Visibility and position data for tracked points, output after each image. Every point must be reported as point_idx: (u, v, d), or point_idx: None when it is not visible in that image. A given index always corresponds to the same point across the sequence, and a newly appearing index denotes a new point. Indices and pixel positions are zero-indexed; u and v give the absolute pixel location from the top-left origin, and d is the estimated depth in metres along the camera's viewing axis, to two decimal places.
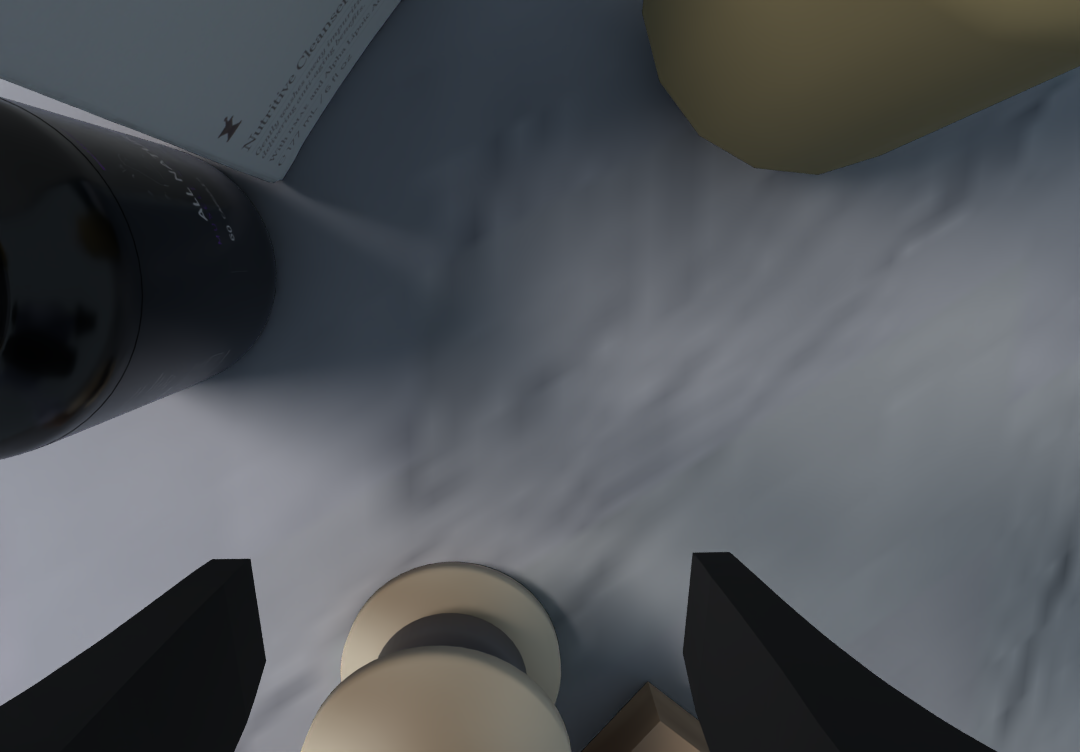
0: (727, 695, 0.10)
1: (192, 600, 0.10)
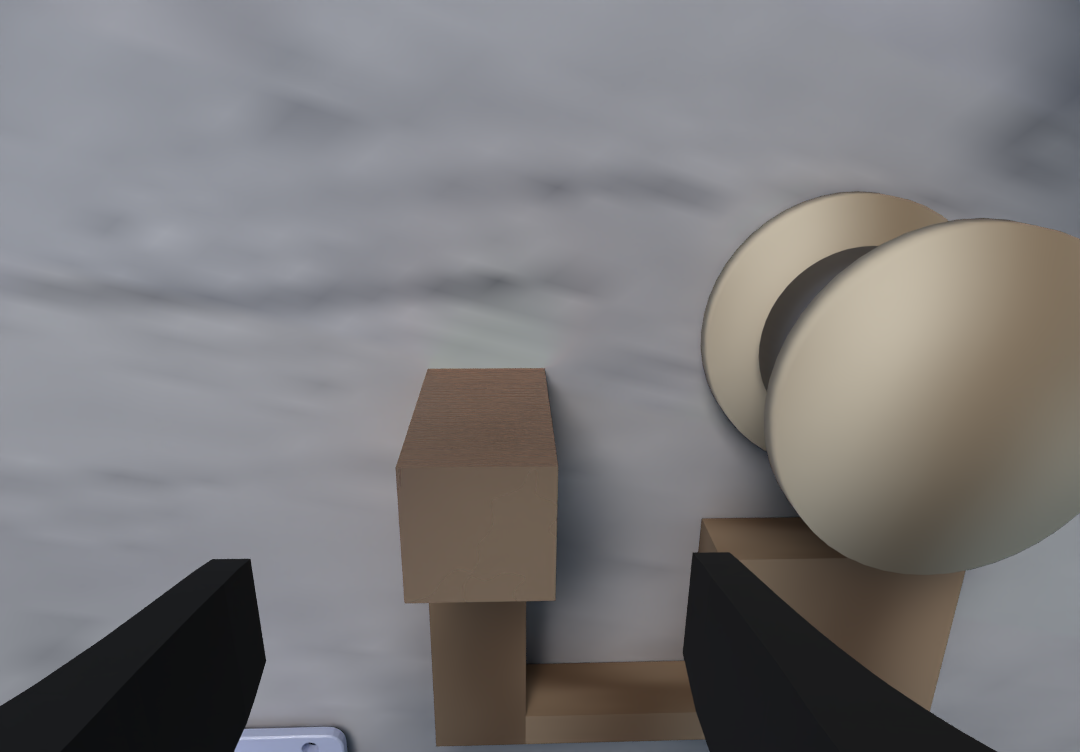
0: (727, 695, 0.10)
1: (192, 600, 0.10)
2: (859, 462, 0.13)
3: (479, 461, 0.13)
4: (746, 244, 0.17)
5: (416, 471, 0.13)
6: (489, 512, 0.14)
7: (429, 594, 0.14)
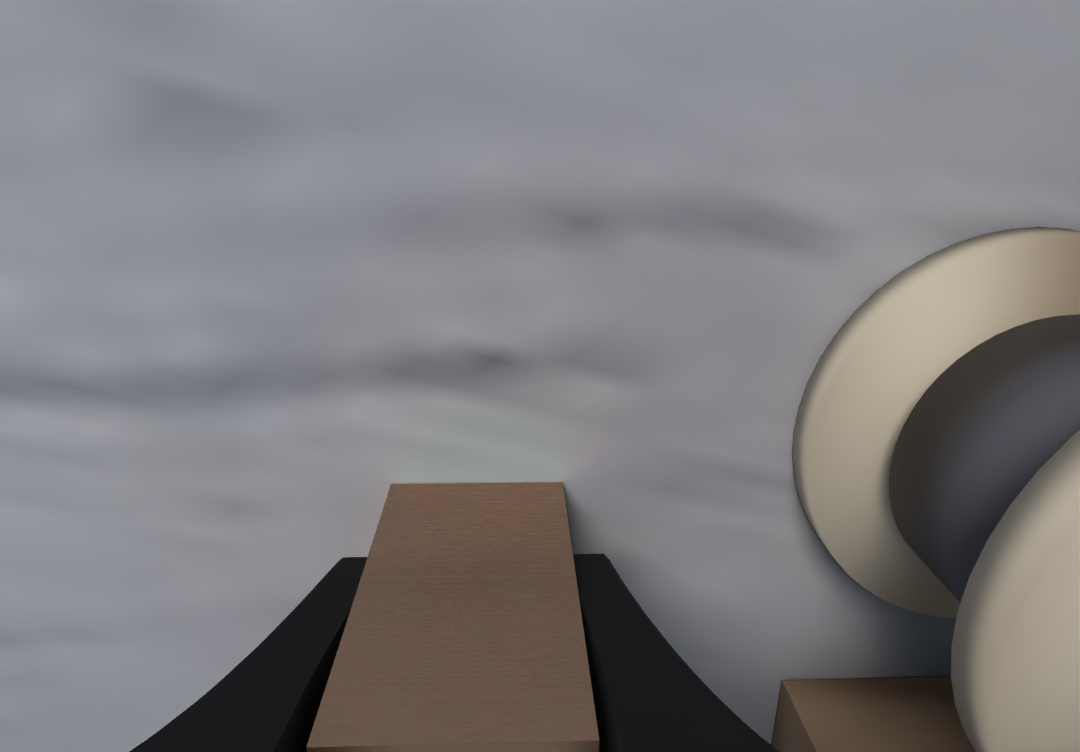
0: None
1: (343, 598, 0.10)
2: None
3: (458, 725, 0.08)
4: (869, 307, 0.11)
5: None
6: None
7: None
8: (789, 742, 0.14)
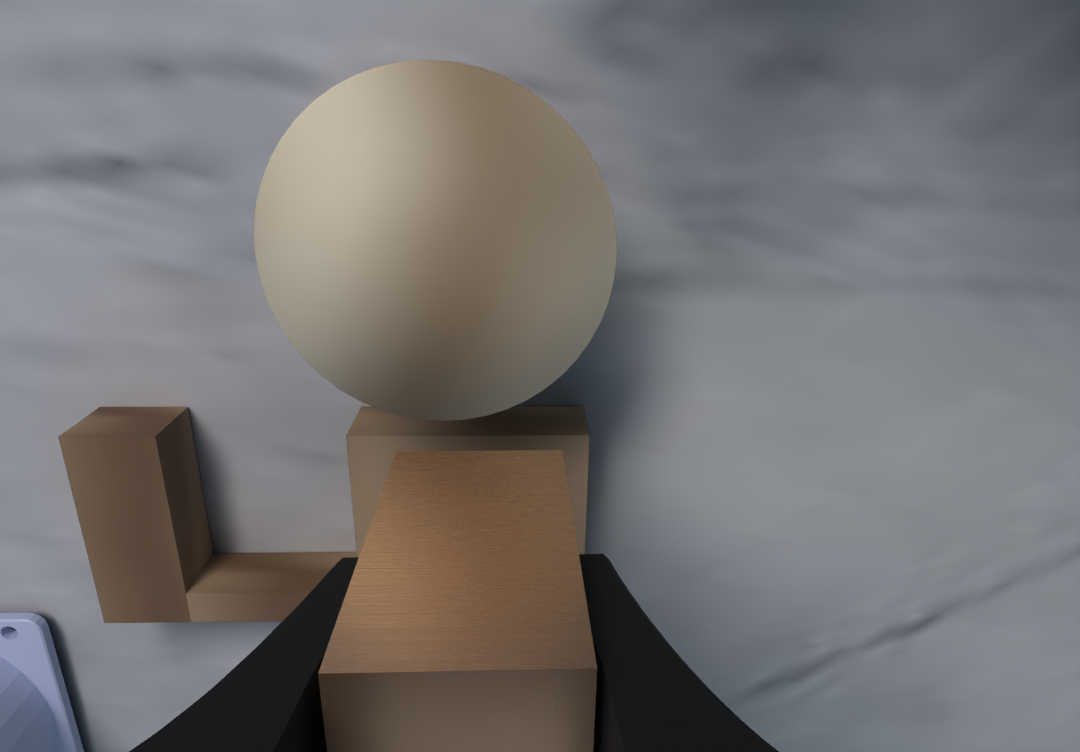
0: None
1: (343, 597, 0.10)
2: (347, 303, 0.14)
3: (462, 656, 0.08)
4: None
5: (355, 678, 0.08)
6: (480, 740, 0.08)
7: None
8: None
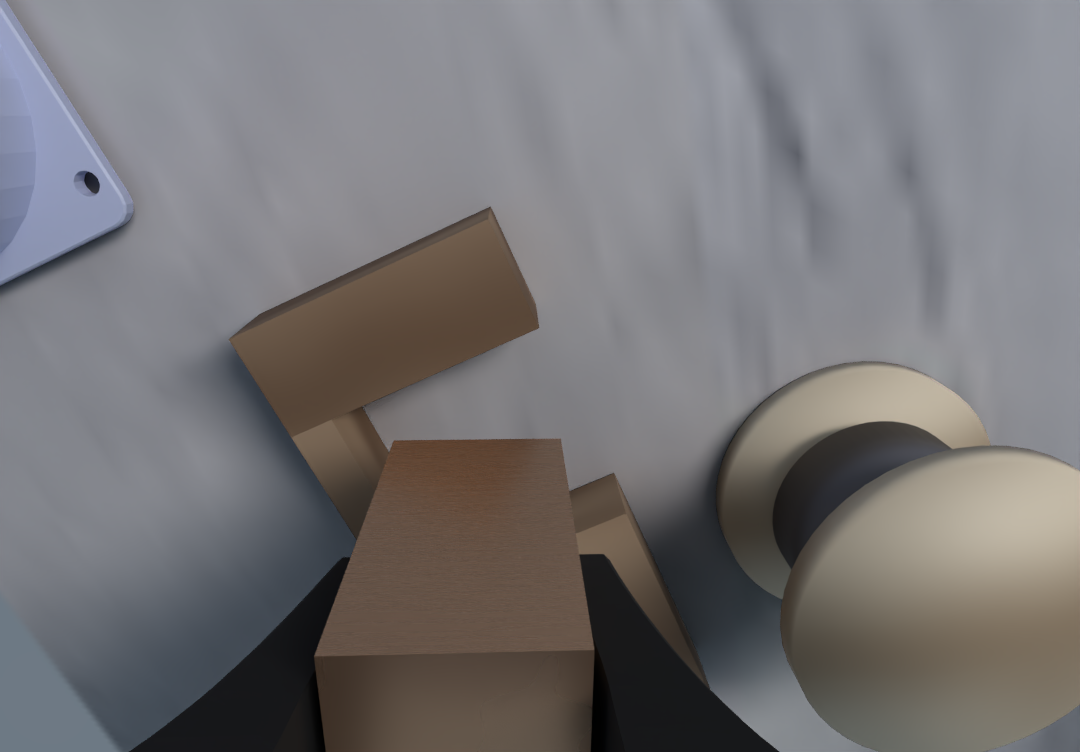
0: None
1: None
2: (901, 570, 0.13)
3: (460, 638, 0.08)
4: (908, 369, 0.18)
5: (351, 661, 0.08)
6: (477, 722, 0.08)
7: None
8: (586, 499, 0.18)
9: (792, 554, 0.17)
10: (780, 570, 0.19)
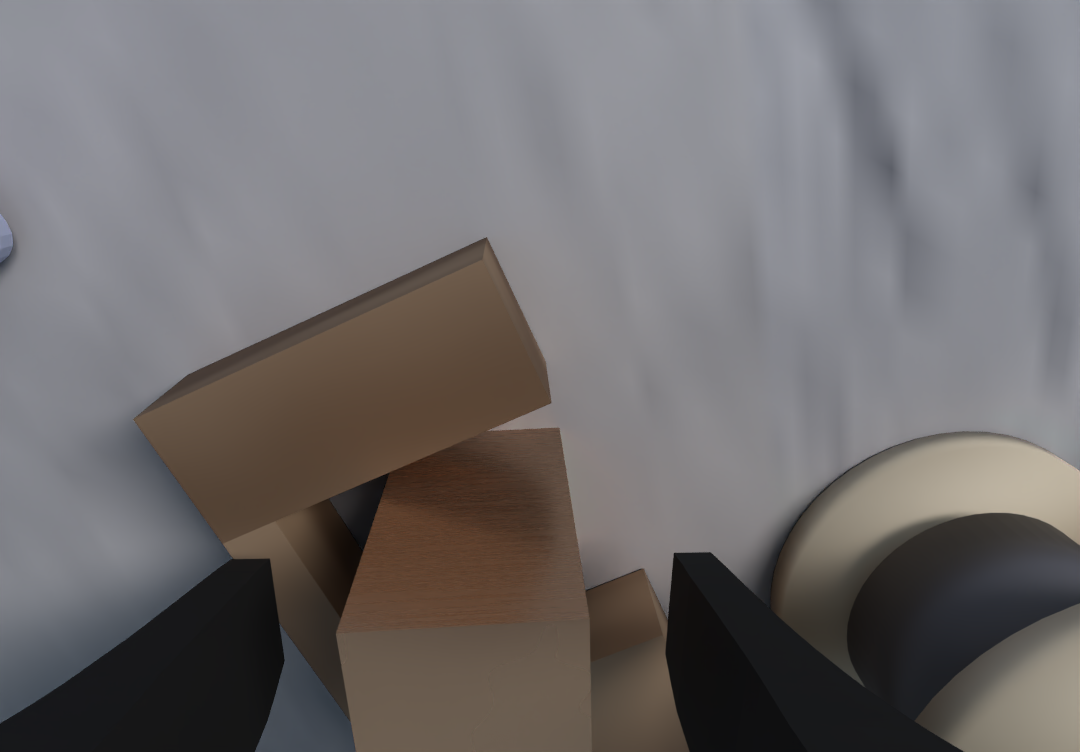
0: (705, 695, 0.10)
1: (215, 600, 0.10)
2: None
3: (467, 613, 0.09)
4: (1022, 442, 0.14)
5: (369, 637, 0.08)
6: (487, 690, 0.09)
7: None
8: (608, 605, 0.14)
9: (879, 689, 0.13)
10: None
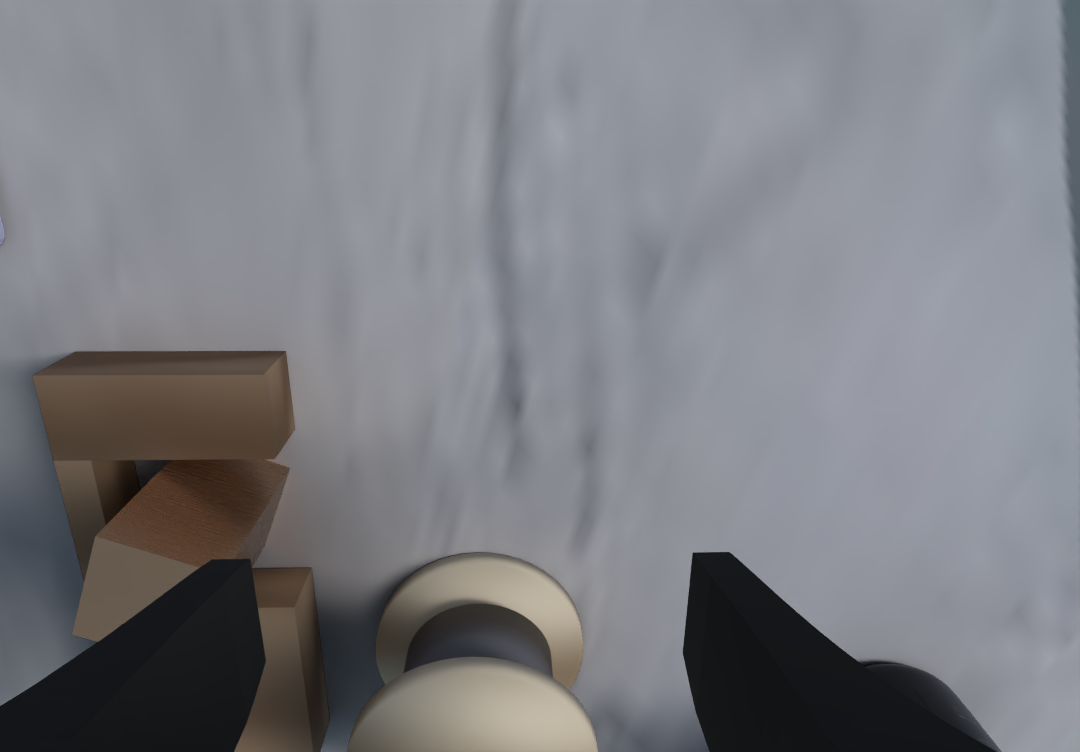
0: (727, 694, 0.10)
1: (192, 600, 0.10)
2: (435, 727, 0.19)
3: (165, 550, 0.17)
4: (546, 577, 0.24)
5: (111, 544, 0.17)
6: (160, 590, 0.17)
7: (94, 634, 0.17)
8: (278, 581, 0.23)
9: None
10: None
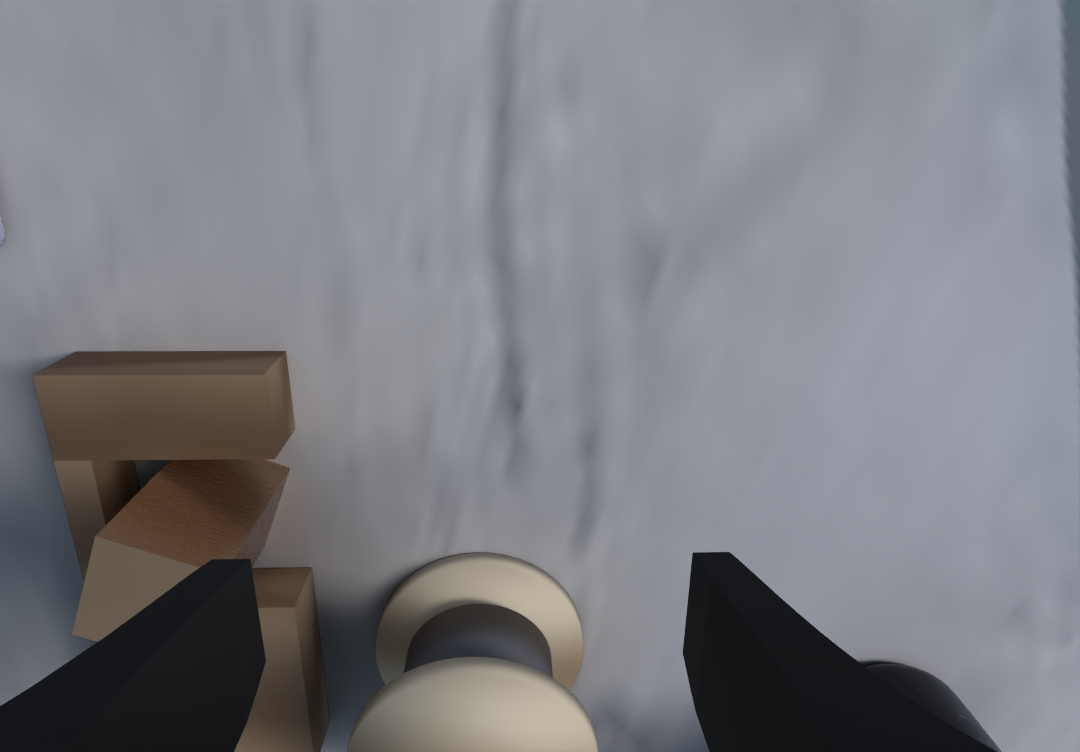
0: (727, 694, 0.10)
1: (192, 600, 0.10)
2: (435, 727, 0.19)
3: (165, 550, 0.17)
4: (546, 577, 0.24)
5: (111, 544, 0.17)
6: (160, 590, 0.17)
7: (94, 634, 0.17)
8: (278, 581, 0.23)
9: None
10: None
